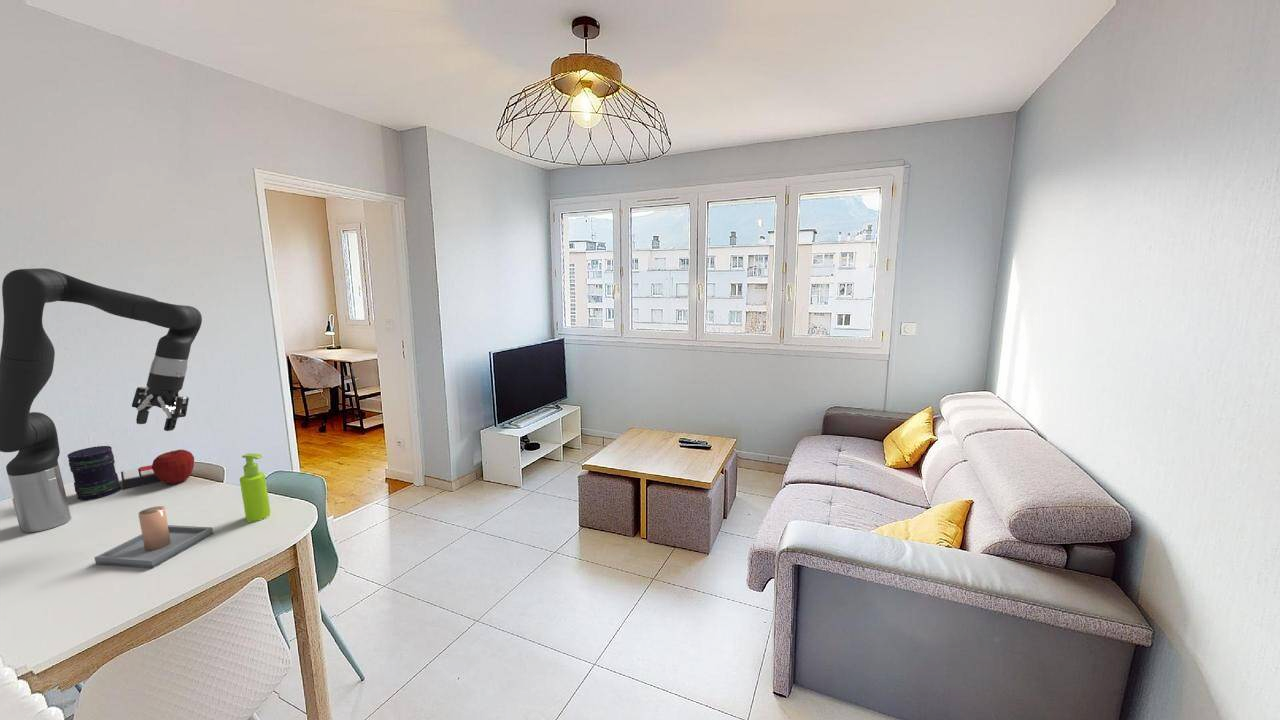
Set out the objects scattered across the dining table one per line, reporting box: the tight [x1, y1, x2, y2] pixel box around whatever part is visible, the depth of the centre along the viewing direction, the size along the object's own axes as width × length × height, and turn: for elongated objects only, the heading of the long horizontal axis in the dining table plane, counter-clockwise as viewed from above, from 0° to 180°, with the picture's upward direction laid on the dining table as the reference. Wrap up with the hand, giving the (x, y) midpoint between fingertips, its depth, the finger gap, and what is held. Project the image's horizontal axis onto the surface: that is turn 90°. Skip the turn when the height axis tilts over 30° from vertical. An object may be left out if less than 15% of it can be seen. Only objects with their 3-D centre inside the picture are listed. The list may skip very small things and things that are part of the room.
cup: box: [138, 505, 171, 550], centre depth 130 cm, size 5×5×10 cm
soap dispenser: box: [239, 452, 271, 522], centre depth 145 cm, size 6×7×20 cm
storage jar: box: [67, 445, 121, 501], centre depth 160 cm, size 10×10×15 cm
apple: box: [151, 449, 195, 485], centre depth 170 cm, size 11×11×12 cm
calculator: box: [120, 464, 162, 490], centre depth 173 cm, size 11×4×15 cm
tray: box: [94, 524, 215, 569], centre depth 131 cm, size 16×16×2 cm
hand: (154, 427), depth 141 cm, fingers open, 8 cm apart
